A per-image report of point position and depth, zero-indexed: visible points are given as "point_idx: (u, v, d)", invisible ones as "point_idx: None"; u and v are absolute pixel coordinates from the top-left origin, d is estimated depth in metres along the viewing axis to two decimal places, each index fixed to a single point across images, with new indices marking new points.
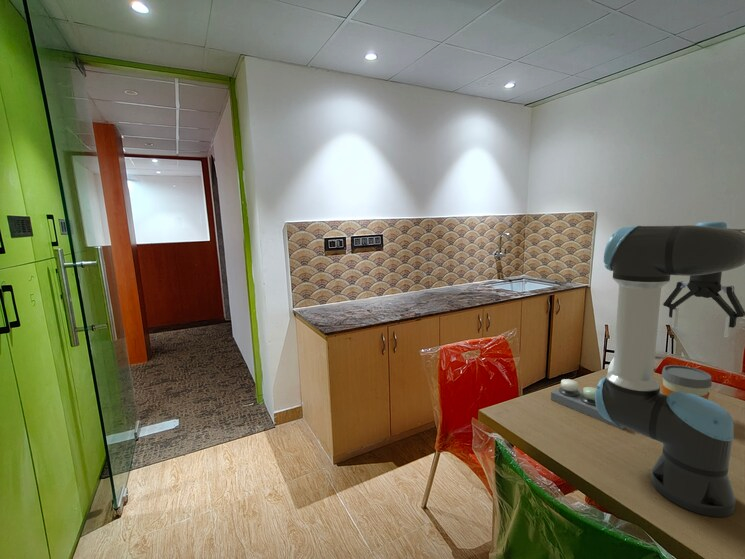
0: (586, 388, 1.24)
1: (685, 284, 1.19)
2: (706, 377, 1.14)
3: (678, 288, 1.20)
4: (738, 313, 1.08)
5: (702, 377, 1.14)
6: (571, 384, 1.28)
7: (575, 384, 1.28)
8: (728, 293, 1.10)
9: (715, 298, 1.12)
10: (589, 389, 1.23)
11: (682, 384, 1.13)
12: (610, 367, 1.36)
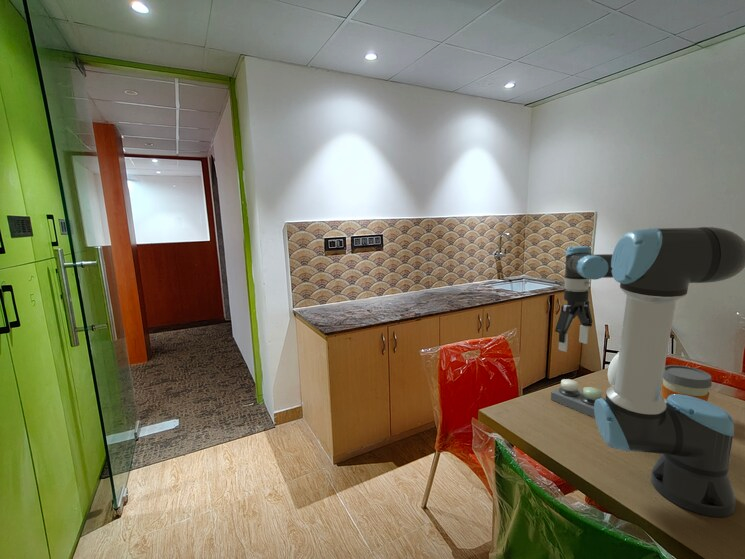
0: (586, 388, 1.24)
1: None
2: (706, 377, 1.14)
3: None
4: None
5: (702, 377, 1.14)
6: (571, 384, 1.28)
7: (575, 384, 1.28)
8: None
9: None
10: (589, 389, 1.23)
11: (682, 384, 1.13)
12: (610, 367, 1.36)
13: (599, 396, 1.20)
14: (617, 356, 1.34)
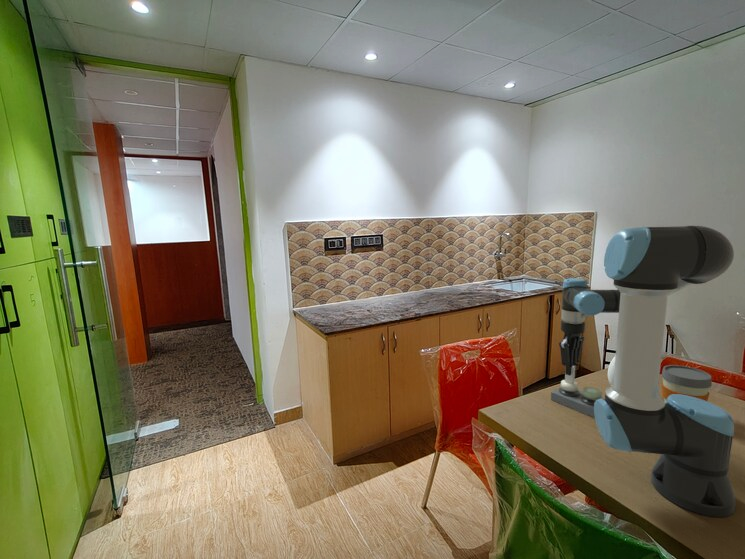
0: (586, 388, 1.24)
1: None
2: (706, 377, 1.14)
3: None
4: None
5: (702, 377, 1.14)
6: (571, 385, 1.28)
7: (575, 385, 1.28)
8: None
9: None
10: (589, 389, 1.23)
11: (682, 384, 1.13)
12: (610, 367, 1.36)
13: (599, 396, 1.20)
14: None
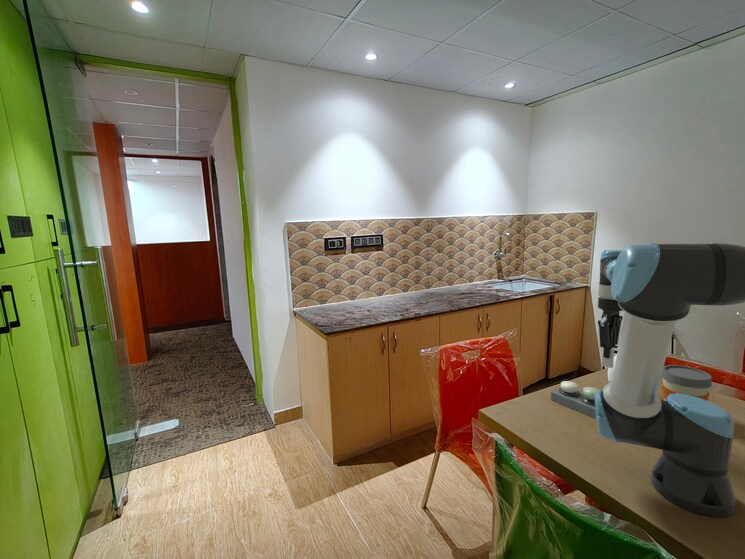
0: (586, 388, 1.24)
1: None
2: (706, 377, 1.14)
3: None
4: None
5: (702, 377, 1.14)
6: (571, 386, 1.28)
7: (575, 386, 1.28)
8: None
9: None
10: (589, 389, 1.23)
11: (682, 384, 1.13)
12: None
13: None
14: None
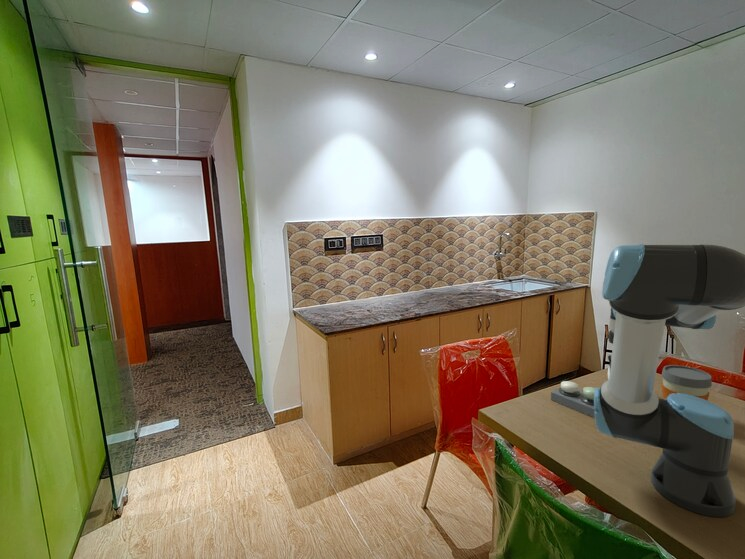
0: (586, 388, 1.24)
1: None
2: (706, 377, 1.14)
3: None
4: None
5: (702, 377, 1.14)
6: (571, 386, 1.28)
7: (575, 386, 1.28)
8: None
9: None
10: (589, 389, 1.23)
11: (682, 384, 1.13)
12: None
13: None
14: None
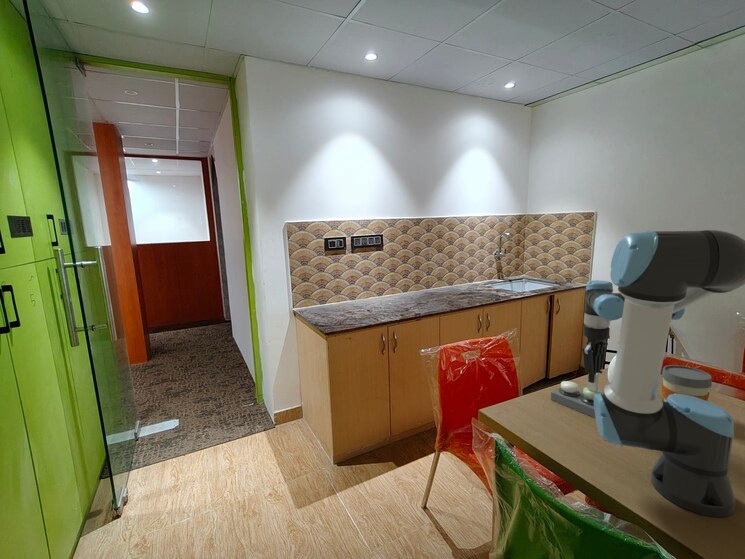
0: (586, 388, 1.24)
1: None
2: (706, 377, 1.14)
3: None
4: None
5: (702, 377, 1.14)
6: (571, 386, 1.28)
7: (575, 386, 1.28)
8: None
9: None
10: (589, 390, 1.23)
11: (682, 384, 1.13)
12: (610, 367, 1.36)
13: None
14: None
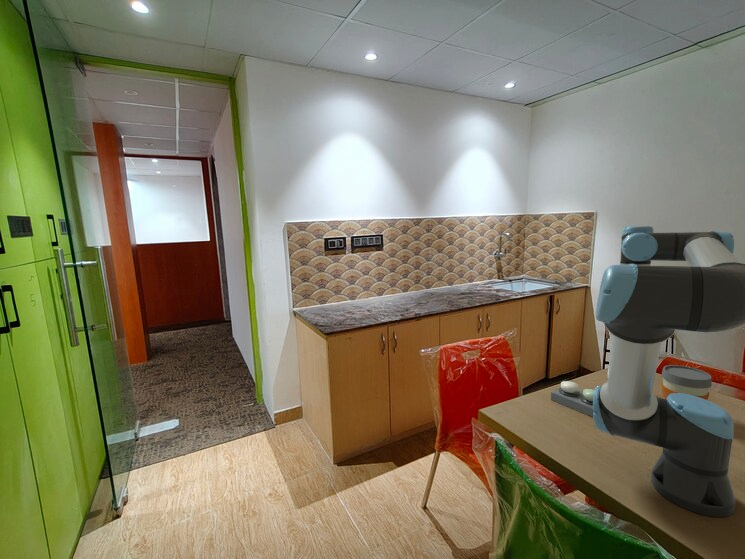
0: (586, 390, 1.24)
1: None
2: (706, 377, 1.14)
3: None
4: None
5: (702, 377, 1.14)
6: (571, 386, 1.28)
7: (575, 386, 1.28)
8: None
9: None
10: (589, 391, 1.24)
11: (682, 384, 1.13)
12: None
13: None
14: None
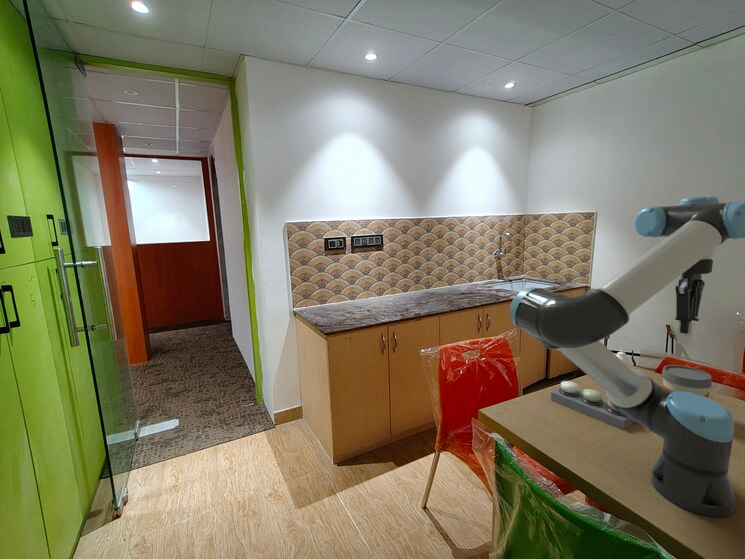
0: (586, 390, 1.24)
1: None
2: (706, 377, 1.14)
3: None
4: None
5: (702, 377, 1.14)
6: (571, 386, 1.28)
7: (575, 386, 1.28)
8: None
9: None
10: (589, 391, 1.24)
11: (682, 384, 1.13)
12: None
13: (599, 398, 1.20)
14: (617, 356, 1.34)
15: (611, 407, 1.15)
